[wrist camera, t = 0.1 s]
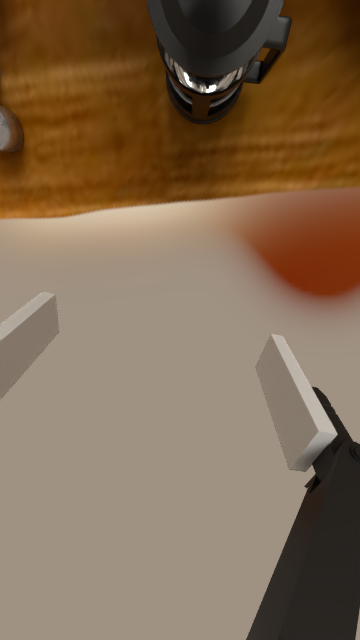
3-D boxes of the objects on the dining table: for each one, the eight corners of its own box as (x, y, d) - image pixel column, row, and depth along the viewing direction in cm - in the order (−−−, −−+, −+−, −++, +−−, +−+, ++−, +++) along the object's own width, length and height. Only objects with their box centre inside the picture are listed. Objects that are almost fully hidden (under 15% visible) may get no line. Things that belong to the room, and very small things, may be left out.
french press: (158, 118, 32) (99, 21, 12) (163, 10, 27) (82, -456, 7) (246, 130, 32) (334, 55, 12) (268, 25, 27) (472, -384, 7)
